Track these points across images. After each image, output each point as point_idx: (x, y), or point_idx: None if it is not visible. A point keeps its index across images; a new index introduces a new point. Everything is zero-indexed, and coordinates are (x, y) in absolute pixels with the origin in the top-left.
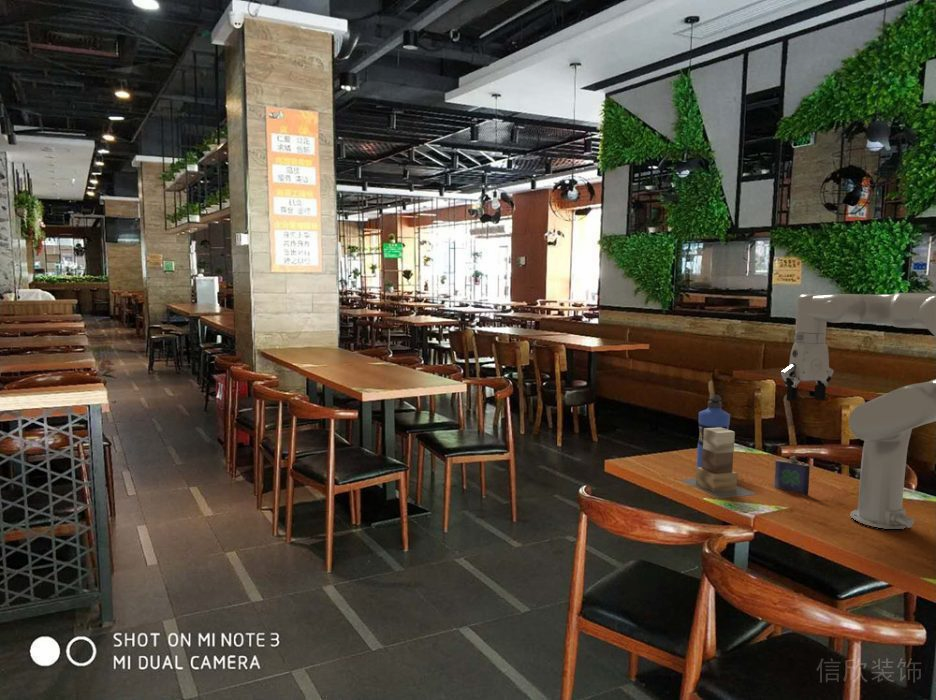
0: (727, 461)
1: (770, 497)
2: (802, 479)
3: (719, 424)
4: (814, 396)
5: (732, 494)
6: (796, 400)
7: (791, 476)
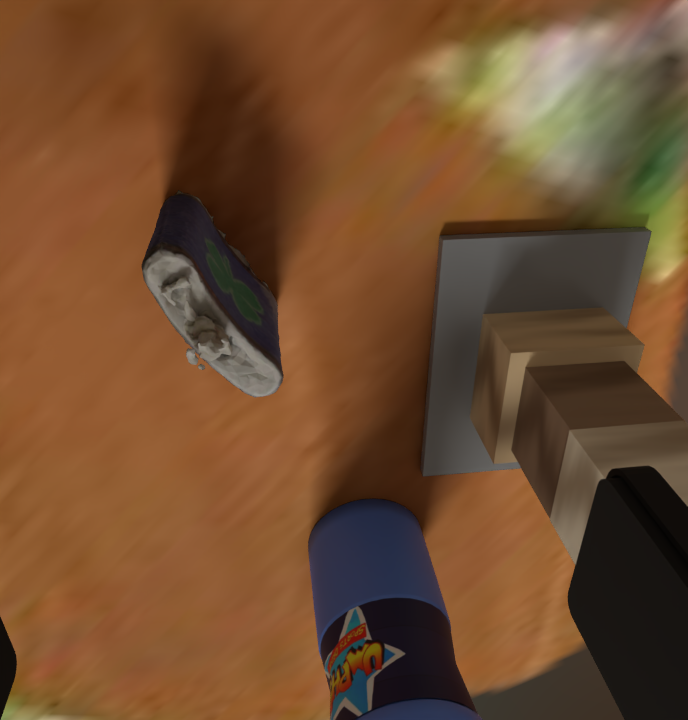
0: (583, 397)
1: (382, 216)
2: (198, 232)
3: (441, 711)
4: (5, 695)
5: (554, 262)
6: (643, 477)
7: (229, 285)
